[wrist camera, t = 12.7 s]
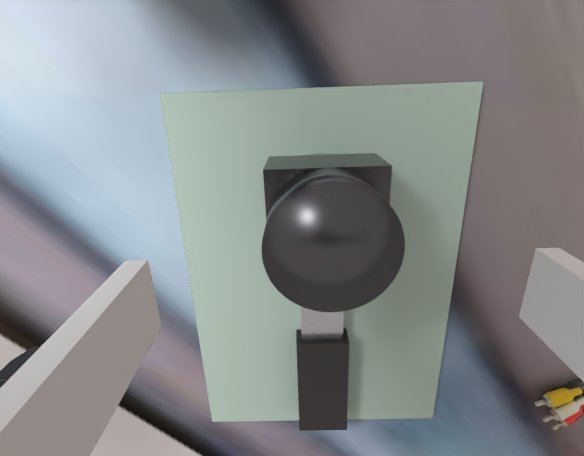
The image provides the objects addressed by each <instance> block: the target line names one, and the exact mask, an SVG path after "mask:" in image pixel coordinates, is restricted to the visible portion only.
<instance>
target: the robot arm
mask: <svg viewBox="0 0 584 456" xmlns="http://www.w3.org/2000/svg"><path fill="white" fill-rule="evenodd" d="M519 318H520V319H521V320H522V321H523V322H524V323H525V324H526V325H527V326H528V327H529V328H530V329H531V330H532V331H533V332H534V333H535V334H536V335H537V336H538V337H539V338H540V339H541V340H542V341H543V342H544V343H545V344H546V345H547V346H548V347H549V348H550V349H551V350H552V351H553V352H554V353H555V354H556V355H557V356H558V357H559V358H560V359H561V360H562V361H563V362H564V363H565V364H566V365H567V366H568V367H569V368H570V369H571V370H572V371H573V372H574V373H575V374H576V375H577V376H578V377H579V378H580V379H581V380H582V381H583V382H584V262H582V261H580V260H579V259H577V258H575V257H574V256H572V255H570V254H569V253H567V252H565V251H563V250H562V249H560V248H536V249H535V253H534V257H533V261H532V265H531V269H530V273H529V277H528V281H527V285H526V289H525V293H524V297H523V301H522V305H521V309H520V313H519ZM161 327H162V325H161V320H160V315H159V311H158V306H157V301H156V296H155V292H154V287H153V282H152V278H151V273H150V268H149V263H148V260H129V261H125V262H124V263H123V264H122V265H121V266H120V267H119V268H118V269H117V270H116V271H115V272H114V273H113V274H112V275H111V276H110V277H109V278H108V279H107V280H106V281H105V282H104V283H103V284H102V285H101V286H100V287H99V288H98V289H97V290H96V291H95V292H94V293H93V294H92V295H91V296H90V297H89V298H88V299H87V300H86V301H85V302H84V303H83V304H82V305H81V306H80V307H79V308H78V309H77V310H76V312H75V313H74V314H73V315H72V316H71V317H70V318H69V319H68V320H67V321H66V322H65V323H64V324H63V325H62V326H61V327H60V328H59V329H58V330H57V331H56V332H55V333H54V334H53V335H52V336H51V337H50V338H49V339H48V340H47V341H46V342H45V343H44V344H43V345H42V346H41V347H32V348H31V349H29V350H27V351H26V352H24V353H23V354H21V355H20V356H18V357H16V358H15V359H13V360H12V361H11V362H9V363H8V364H7V365H6V366H5V367H4V368H3V369H2V370H1V371H0V456H90V454H91V452H92V451H93V449H94V447H95V445H96V444H97V442H98V440H99V438H100V436H101V435H102V433H103V431H104V429H105V427H106V426H107V424H108V422H109V420H110V418H111V417H112V415H113V413H114V411H115V410H116V408H117V406H118V404H119V402H120V401H121V399H122V397H123V395H124V393H125V392H126V390H127V388H128V386H129V384H130V383H131V381H132V379H133V377H134V375H135V374H136V372H137V370H138V368H139V366H140V365H141V363H142V361H143V359H144V357H145V356H146V354H147V352H148V350H149V348H150V347H151V345H152V343H153V341H154V339H155V338H156V336H157V334H158V332H159V330H160V329H161Z"/></svg>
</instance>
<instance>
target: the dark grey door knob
mask: <svg viewBox="0 0 584 456" xmlns="http://www.w3.org/2000/svg"><path fill="white" fill-rule="evenodd" d="M263 177H264V193H265V208H266V226H265V230H264V234H263V239H262V260H263V264H264V268H265V271H266V273H267V275H268V277H269V279H270V282H272V284H273V285H274V286H275V288H276V289H277V290H278V291H279V292H280V293H281V294H282V295H283V296H284V297H286V298H287V299H288V300H290V301H291V302H293V303H295V304H297V305H299V306H301V307H304V308H306V309H310V310H314V311H319V312H342V311H348V310H352V309H355V308H358V307H360V306H363V305H365V304H367V303H369V302H371V301H372V300H374V299H375V298H377V297H378V296H379V295H381V294H382V293H383V292H384V291H385V290H386V289H387V288H388V287H389V286H390V284H391V283H392V282H393V280H394V279H395V277H396V276H397V274H398V272H399V270H400V268H401V265H402V262H403V258H404V252H405V238H404V232H403V228H402V225H401V222H400V220H399V218H398V216H397V214H396V213H395V211H394V210H393V208H392V207H391V206H390V192H391V178H392V165H391V164H389V163H388V162H387V161H385V160H384V159H383V158H381V157H380V156H379V155H377V154H376V153H360V154H330V155H300V156H269V158H268V160H267V162H266V164H265V166H264V169H263Z"/></svg>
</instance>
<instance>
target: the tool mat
mask: <svg viewBox="0 0 584 456" xmlns="http://www.w3.org/2000/svg"><path fill="white" fill-rule="evenodd" d="M483 82H484V81H479V82H452V83H426V84H399V85H373V86H346V87H320V88H293V89H267V90H240V91H214V92H187V93H161V94H160V98H161V104H162V111H163V117H164V123H165V129H166V136H167V142H168V148H169V154H170V161H171V167H172V173H173V179H174V186H175V192H176V198H177V204H178V211H179V217H180V223H181V229H182V236H183V242H184V248H185V254H186V261H187V267H188V273H189V279H190V286H191V292H192V298H193V304H194V311H195V317H196V323H197V329H198V336H199V342H200V348H201V354H202V361H203V367H204V373H205V379H206V386H207V392H208V398H209V404H210V411H211V417H212V422H228V421H293V420H299V401H298V374H297V347H296V329H301V306H299V305H297V304H295V303H293V302H291V301H290V300H288V299H287V298H286V297H284V296H283V295H282V294H281V293H280V292H279V291H278V290H277V289H276V288H275V286H274V285H273V284H272V282H270V279H269V277H268V275H267V273H266V271H265V268H264V264H263V260H262V239H263V234H264V230H265V226H266V208H265V193H264V177H263V169H264V166H265V164H266V162H267V160H268V158H269V156H300V155H310V154H314V153H329V154H360V153H376V154H377V155H379V156H380V157H381V158H383V159H384V160H385V161H387V162H388V163H389V164H391V165H392V178H391V192H390V206H391V207H392V208H393V210H394V211H395V213H396V214H397V216H398V218H399V220H400V222H401V225H402V228H403V232H404V238H405V252H404V258H403V262H402V265H401V268H400V270H399V272H398V274H397V276H396V277H395V279H394V280H393V282H392V283H391V284H390V286H389V287H388V288H387V289H386V290H385V291H384V292H383V293H382V294H381V295H379V296H378V297H377V298H375V299H374V300H372V301H371V302H369V303H367V304H365V305H363V306H360V307H358V308H355V309H352V310H348V311H344V318H343V328H346V330H347V334H348V339H349V372H348V406H347V420H359V419H424V418H433V414H434V407H435V401H436V394H437V387H438V381H439V374H440V368H441V361H442V354H443V348H444V341H445V334H446V328H447V321H448V314H449V308H450V301H451V295H452V288H453V281H454V275H455V268H456V261H457V255H458V248H459V241H460V235H461V228H462V222H463V215H464V208H465V202H466V195H467V188H468V182H469V175H470V169H471V162H472V155H473V149H474V142H475V135H476V129H477V122H478V115H479V109H480V102H481V96H482V89H483Z"/></svg>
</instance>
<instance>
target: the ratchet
mask: <svg viewBox="0 0 584 456" xmlns="http://www.w3.org/2000/svg"><path fill="white" fill-rule="evenodd" d="M310 155H330V154H329V153H314V154H310ZM343 318H344V311H342V312H319V311H314V310H310V309H306V308H304V307H301V329H296V347H297V374H298V401H299V428H300V430H347V406H348V372H349V339H348V334H347V330H346V328H343Z"/></svg>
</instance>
